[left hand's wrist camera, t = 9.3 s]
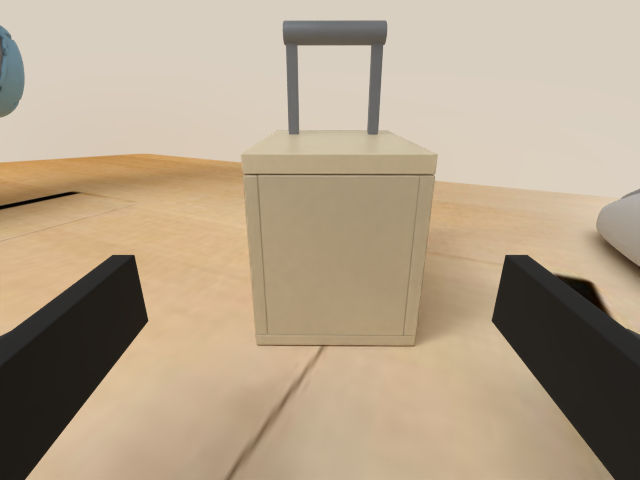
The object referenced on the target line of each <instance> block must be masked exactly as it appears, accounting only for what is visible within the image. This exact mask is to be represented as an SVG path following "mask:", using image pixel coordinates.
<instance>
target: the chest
mask: <svg viewBox="0 0 640 480" xmlns="http://www.w3.org/2000/svg"><path fill="white" fill-rule="evenodd" d="M434 180H435V176H434V175H433V174H244V175H243V184H244V196H245V209H246V221H247V234H248V246H249V258H250V271H251V283H252V296H253V308H254V321H255V333H256V344H257V345H382V346H414V345H415V337H416V336H415V335H416V330H417V322H418V314H419V305H420V297H421V289H422V280H423V272H424V264H425V255H426V247H427V239H428V230H429V222H430V214H431V205H432V197H433V189H434Z"/></svg>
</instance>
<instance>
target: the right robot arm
mask: <svg viewBox="0 0 640 480" xmlns="http://www.w3.org/2000/svg"><path fill="white" fill-rule="evenodd" d="M24 79H25V78H24V67H23V61H22V57H21V54H20V51H19V49H18V47H17V45H16V43H15V41H14V40H12V39H11V35H10V34H9V33H8V31H7V30H6V29H5V28H3V27H2V26H0V117H4V116H6V115H8V114H10V113H11V112H12V111H14V109H15V108H16V107H17V105H18V103H19V100H20V99H21V97H22V94H23V90H24Z"/></svg>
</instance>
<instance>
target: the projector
mask: <svg viewBox="0 0 640 480" xmlns="http://www.w3.org/2000/svg"><path fill="white" fill-rule="evenodd" d="M596 228H597V230H598V232H599V233H600V234H601V235H602V237H603V238H604V239H605V240H607V241H608V242H609V243H610V244H611V245H612V246H613V247H615V248H616V249H617V250H618V251H619V252H621V253H622V254H623V255H625V256H626V257H627V258H628V259H630V260H631V261H633V262H634V263H635V264H637V265H638V266H640V189H638V190H636V191H634V192H631V193H629V194H627V195H625V196H623V197H622V198H621V199H620V200H617V201H615V202H613V203H611V204H609V205H607V206H605V207H604V208H603V209H602V210H601V211H600V213H599V216H598V219H597V223H596Z"/></svg>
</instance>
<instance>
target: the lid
mask: <svg viewBox="0 0 640 480" xmlns="http://www.w3.org/2000/svg"><path fill="white" fill-rule="evenodd" d="M386 37H387V22H386V21H284V22H283V40H284V44H285V45H286V57H287V90H288V122H289V131H276V132H274V133H273V134H271V135H270V136H268V137H266V138H265V139H263V140H262V141H260V142H259V143H257V144H256V145H254V146H253V147H251V148H250V149H248V150H246V151H245V152H243V153H242V154H241V160H242V173H243V174H435V172H436V164H437V154H436V153H434V152H432V151H430V150H427V149H425V148H423V147H421V146H419V145H417V144H415V143H413V142H410V141H408V140H406V139H404V138H402V137H400V136H398V135H395V134H393V133H391V132H389V131H378V124H379V106H380V89H381V72H382V55H383V45H384V44H385V42H386ZM297 45H371V66H370V87H369V108H368V129H367V131H299V103H298V55H297Z"/></svg>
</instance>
